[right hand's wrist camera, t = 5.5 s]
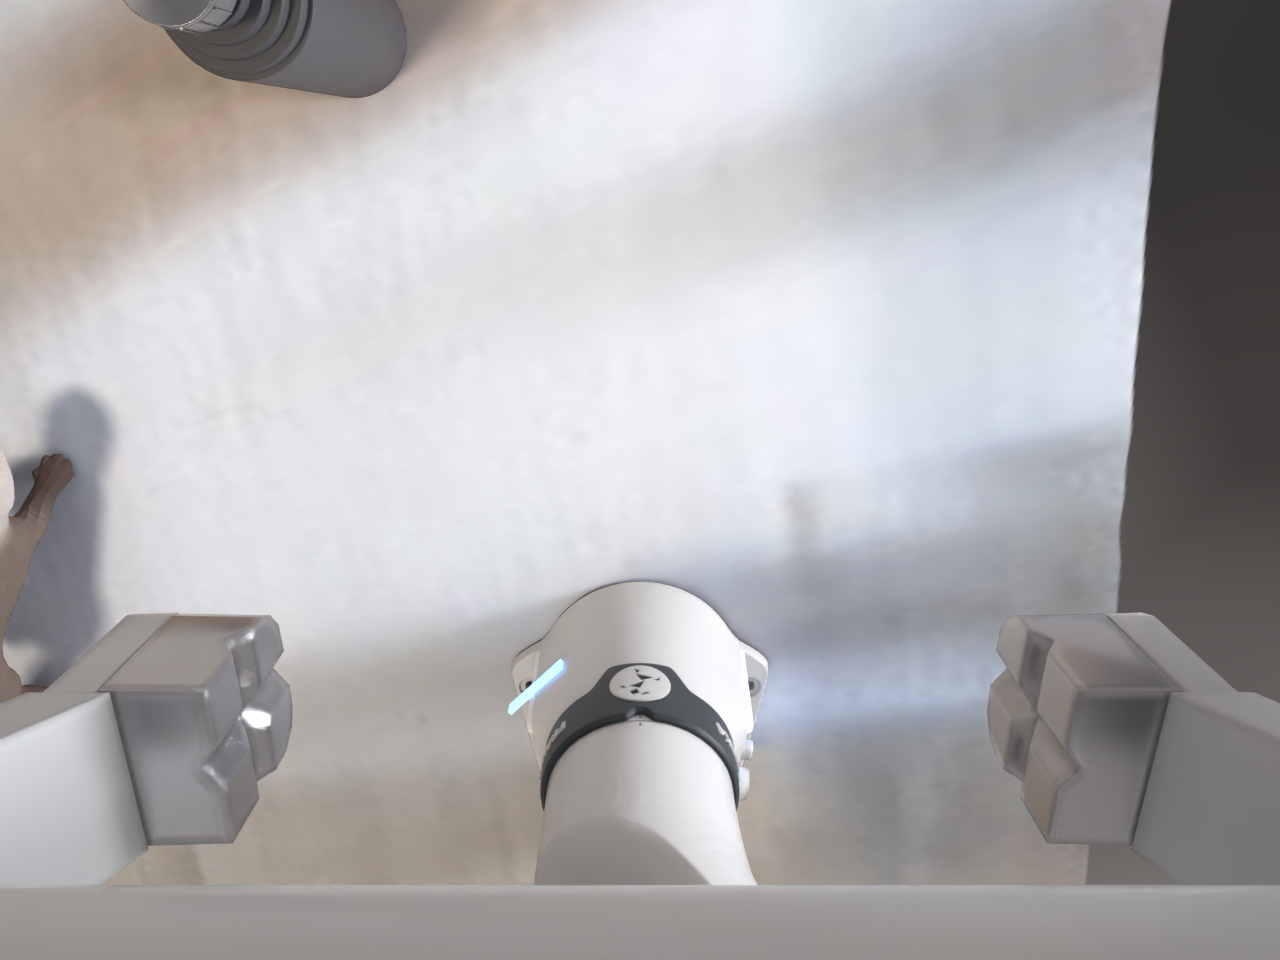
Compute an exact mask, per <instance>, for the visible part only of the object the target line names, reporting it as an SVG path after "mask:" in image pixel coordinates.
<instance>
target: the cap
mask: <svg viewBox="0 0 1280 960" xmlns="http://www.w3.org/2000/svg"><path fill="white" fill-rule="evenodd" d="M123 1H124V2H125V3H126V4H127V5H128V6H129V8H130V9H131V10H133V11H134V12H135V13H136V14H137V15H139V16H140V17H142V18H143V19H145V20H147V21H149V22H151V23H154V24H156V25H159V27H161V28H165V29H170V30H174V31H178V32H179V30H180V31H185V32H190V33H194V34H200V33H201V32H206V31H210V30H212V29H214V28H216V29H217V28H218V26H219V25H221V24H222V23H223V22H224V21H225V20H226V19H227V18H228V17H229V15H231V14H232V13H231V12H232V11H233V9H234V6H235V4H236V1H237V0H123Z"/></svg>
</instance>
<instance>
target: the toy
mask: <svg viewBox="0 0 1280 960" xmlns="http://www.w3.org/2000/svg"><path fill="white" fill-rule="evenodd" d="M32 474H33V477H34V481H35V483H34V486H33V488H32V489H31V491H30V493H29V495H28V496H27V498H26V500H25V502H24V503H23V505H22V507H21V508H20V510H19V511H18V513H17V514H16V515H15V516H14V517H9V516H8V513H9V511H10V510H11V508H12V507H13V503H14V481H13V477H12V473H11V470H10V467H9V465H8V463H7V460H6V457H5V454H4V452H3V450H2V449H1V448H0V703H2V702H5V701H7V700H10V699H12V698H15V697H17V696H20V695H22V694H24V693H27V692H43V691H44V690H45V689H47V688H44V687H41V686H37V685H24V686H22V684H21V680H20V677H19V675H18V674H17V673H16V672H15V671H14V670H13V669H12V668H10V667H9V666H8V665H7V663H6V661H5V659H4V657H3V649H2V644H3V637H4V633H5V630H6V627H7V624H8V621H9V618H10V616H11V613H12V611H13V608H14V606H15V604H16V601H17V599H18V597H19V594H20V592H21V590H22V587H23V585H24V582H25V579H26V575H27V572H28V568H29V564H30V561H31V556H32V553H33V551H34V549H35V548H36V547H37V545H38V543H39V541H40V540H41V538H42V536H43V535H44V533H45V532H46V530H47V526H48V523H49V519H50V515H51V512H52V508H53V504H54V501H55V499H56V496H57V495H58V493H59V492H60V491H61V490H62V489H63V488H64V486H65V485H66V484H67V483H68V482H69V481H70V480H71V478H72V477H73V475H74V472H73V470H72V464H71V462H70V461H69V460H65V459H63V456H62V454H54V455H52V456H51V457H50V456H47V455H45V456H44V457H43V458H42V460H41V464H40V466H39V468H37V469H35V470H33V471H32Z"/></svg>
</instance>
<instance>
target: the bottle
mask: <svg viewBox="0 0 1280 960" xmlns="http://www.w3.org/2000/svg"><path fill="white" fill-rule="evenodd" d="M231 13H232V14H231V15H229V17H228V18H227V19H226V20H225V21H224V22H223V23H222V24H221V25H219V26H218V28H217V29H216V28H214V29H212V30H210V31H206V32H201V33H200V34H194V33H190V32H185V31H180V30H179V32H178V31H174V30H170V29H165V28H164V29H165V31H166V32H167V34H168V35H169V36H170V38H171V39H172V40H173V41H174V43H175V44H176V45H177V46H178V47H179V48H180V49H181V50H182V51H183V52H184V53H185V54H186V56H188V57H189V58H190V59H191V60H192V61H194V62H195V63H196V64H198V65H199V66H201V67H202V68H204V69H205V70H207V71H209V72H211V73H213V74H215V75H218V76H221V77H224V78H227V79H232V80H237V81H244V82H250V83H257V84H263V85H270V86H276V87H283V88H289V89H296V90H302V91H309V92H315V93H322V94H328V95H335V96H341V97H348V98H361V97H366V96H370V95H373V94H375V93H377V92H379V91H381V90H382V89H384V88H385V87H386V86H388V85H389V84H390V83H391V81H392V80H393V79H394V78H395V76H396V75H397V74H398V72H399V70H400V68H401V66H402V63H403V60H404V56H405V51H406V31H405V25H404V21H403V17H402V15H401V12H400V10H399V8H398V6H397V4H396V2H395V1H394V0H237V1H236V4H235V6H234V9H233V11H232V12H231Z"/></svg>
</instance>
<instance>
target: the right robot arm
mask: <svg viewBox="0 0 1280 960" xmlns="http://www.w3.org/2000/svg"><path fill="white" fill-rule="evenodd" d="M283 651H284V649H283V644H282V639H281V634H280V630H279V625H278V624H277V622H276V621H275V620H274V619H273V618H272V617H271V616H270V615H225V614H179V613H150V614H133V615H127V616H126V617H125V618H124V619H123V620H121V621H120V622H119V623H118V624H117V625H116V626H115V627H114V628H113V629H112V630H110V631H109V632H108V633H107V634H106V635H105V636H104V637H103V638H102V639H101V640H99V641H98V642H97V643H96V644H95V645H94V646H93V647H92V648H91V649H90V650H88V651H87V652H86V653H85V654H84V655H83V656H82V657H81V658H80V659H79V660H77V661H76V662H75V663H74V664H73V665H72V666H71V667H70V668H69V669H68V670H66V671H65V672H64V673H63V674H62V675H61V676H60V677H59V678H58V679H56V680H55V681H54V682H53V683H52V684H51V685H50V686H49V687H48V688H47V689H45V690H44V691H43V692H27V693H24V694H22V695H20V696H17V697H15V698H12V699H10V700H7V701H5V702H2V703H0V960H1280V703H1278V702H1275V701H1273V700H1270V699H1268V698H1265V697H1263V696H1260V695H1258V694H1256V693H1253V692H1237V691H1236V690H1235V689H1233V688H1232V687H1231V686H1230V685H1229V684H1228V683H1227V682H1226V681H1225V680H1224V679H1223V678H1221V677H1220V676H1219V675H1218V674H1217V673H1216V672H1215V671H1214V670H1213V669H1212V668H1210V667H1209V666H1208V665H1207V664H1206V663H1205V662H1204V661H1203V660H1202V659H1201V658H1199V657H1198V656H1197V655H1196V654H1195V653H1194V652H1193V651H1192V650H1191V649H1190V648H1188V647H1187V646H1186V645H1185V644H1184V643H1183V642H1182V641H1181V640H1180V639H1179V638H1177V637H1176V636H1175V635H1174V634H1173V633H1172V632H1171V631H1170V630H1169V629H1168V628H1166V627H1165V626H1164V625H1163V624H1162V623H1161V622H1160V621H1159V620H1158V619H1157V618H1156V617H1154V616H1152V615H1148V614H1145V613H1120V614H1068V615H1027V616H1012V617H1006V618H1005V621H1004V623H1003V625H1002V627H1001V629H1000V632H999V638H998V643H997V649H996V651H997V653H998V654H999V656H1000V657H1001V659H1002V661H1003V662H1004V664H1005V665H1006V667H1007V669H1006V670H1005V671H1004V672H1003V673H1002V674H1001V675H1000V676H999V677H998V678H997V679H996V680H995V681H994V682H993V683H992V684H991V685H990V693H989V701H988V709H987V714H988V725H989V735H990V739H991V742H992V745H993V748H994V751H995V754H996V756H997V758H998V759H999V761H1000V763H1001V765H1002V767H1003V768H1004V770H1006V771H1007V772H1009V773H1011V774H1012V775H1014V776H1015V777H1017V778H1019V779H1020V780H1022V781H1023V787H1022V793H1021V799H1022V801H1023V803H1024V805H1025V806H1026V808H1027V810H1028V811H1029V813H1030V815H1031V816H1032V818H1033V820H1034V821H1035V823H1036V825H1037V826H1038V828H1039V830H1040V832H1041V833H1042V835H1043V837H1044V838H1045V840H1046V842H1047V843H1052V844H1089V845H1126V846H1132V850H1133V851H1134V852H1136V853H1137V854H1138V855H1140V856H1141V857H1142V858H1144V859H1145V860H1146V861H1148V862H1149V863H1150V864H1152V865H1153V866H1154V867H1156V868H1157V869H1158V870H1160V871H1161V872H1162V873H1164V874H1165V875H1166V876H1168V877H1169V878H1170V879H1172V880H1173V881H1174V882H1176V883H1177V884H1178V885H757V883H756V881H755V879H754V877H753V875H752V873H751V870H750V867H749V864H748V860H747V857H746V853H745V849H744V846H743V842H742V838H741V833H740V829H739V824H738V818H737V813H736V811H737V808H738V802H739V801H743V800H746V798H747V794H748V788H749V772H748V769H746V768H744V767H742V765H743V761H744V760H751V758H752V754H753V742H752V741H751V740H750V737H751V734H752V730H753V727H754V723H755V720H756V716H757V713H758V710H759V706H760V703H761V699H762V696H763V692H764V689H765V685H766V682H767V679H768V663H767V660H766V659H765V658H764V656H763V655H761V654H760V653H759V652H757V651H756V650H754V649H753V648H751V647H749V646H748V645H746V644H744V643H742V642H741V641H739V640H738V639H737V638H736V637H735V636H734V635H733V634H732V633H731V631H730V630H729V629H728V627H727V626H726V624H725V623H724V622H723V620H722V619H721V618H720V616H719V615H718V614H717V613H716V612H715V611H714V610H713V609H712V608H711V607H710V606H709V605H707V604H706V603H705V602H703V601H702V600H701V599H699V598H697V597H696V596H694V595H692V594H690V593H688V592H686V591H684V590H682V589H679V588H676V587H673V586H670V585H665V584H661V583H655V582H626V583H619V584H615V585H610V586H607V587H604V588H601V589H599V590H596V591H594V592H592V593H590V594H588V595H586V596H584V597H583V598H581V599H580V600H578V601H577V602H575V603H574V604H573V605H571V606H570V607H569V608H568V609H567V610H566V611H565V612H564V613H563V614H562V615H561V616H560V618H559V619H558V620H557V622H556V623H555V624H554V626H553V627H552V629H551V630H550V631H549V633H548V634H547V635H546V636H545V637H544V638H543V639H542V640H541V641H539V642H538V643H536V644H534V645H532V646H531V647H529V648H527V649H526V650H524V651H523V652H521V653H520V654H519V655H518V656H517V657H516V658H515V659H514V660H513V663H512V678H513V682H514V685H515V689H516V692H517V696H518V697H517V698H516V699H515V700H514V701H513V702H512V703H511V704H510V706H509V710H508V713H510V714H511V715H512V714H513V713H514V712H515V711H516V710H517V709H518V708H519V707H521V709H522V713H523V716H524V720H525V723H526V727H527V730H528V734H529V737H530V740H531V744H532V747H533V751H534V754H535V758H536V761H537V765H538V768H539V771H540V779H541V787H540V788H541V802H542V808H543V811H544V815H543V822H542V829H541V836H540V843H539V850H538V857H537V864H536V872H535V885H102V884H103V883H105V882H106V881H107V880H109V879H110V878H111V877H113V876H114V875H115V874H117V873H118V872H119V871H121V870H122V869H123V868H125V867H126V866H127V865H129V864H130V863H131V862H133V861H134V860H135V859H137V858H138V857H139V856H141V855H142V854H143V853H145V852H146V851H147V850H148V846H154V845H189V844H225V843H233V842H234V840H235V838H236V837H237V835H238V833H239V832H240V830H241V828H242V827H243V825H244V823H245V821H246V820H247V818H248V816H249V815H250V813H251V811H252V810H253V808H254V806H255V805H256V803H257V801H258V799H259V793H258V787H257V781H258V780H260V779H261V778H263V777H265V776H266V775H268V774H269V773H271V772H273V771H274V770H276V768H277V767H278V765H279V763H280V761H281V759H282V757H283V756H284V754H285V752H286V749H287V745H288V741H289V736H290V732H291V728H292V699H291V692H290V685H289V684H288V683H287V682H286V681H285V680H284V679H283V678H282V677H281V676H280V675H279V674H278V673H277V672H276V671H275V670H274V669H273V667H274V665H275V664H276V662H277V661H278V659H279V658H280V656H281V654H282V653H283ZM528 681H532V685H529V684H528V683H527V682H528ZM748 681H752V682H753V683H752V684H751V685H748Z"/></svg>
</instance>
